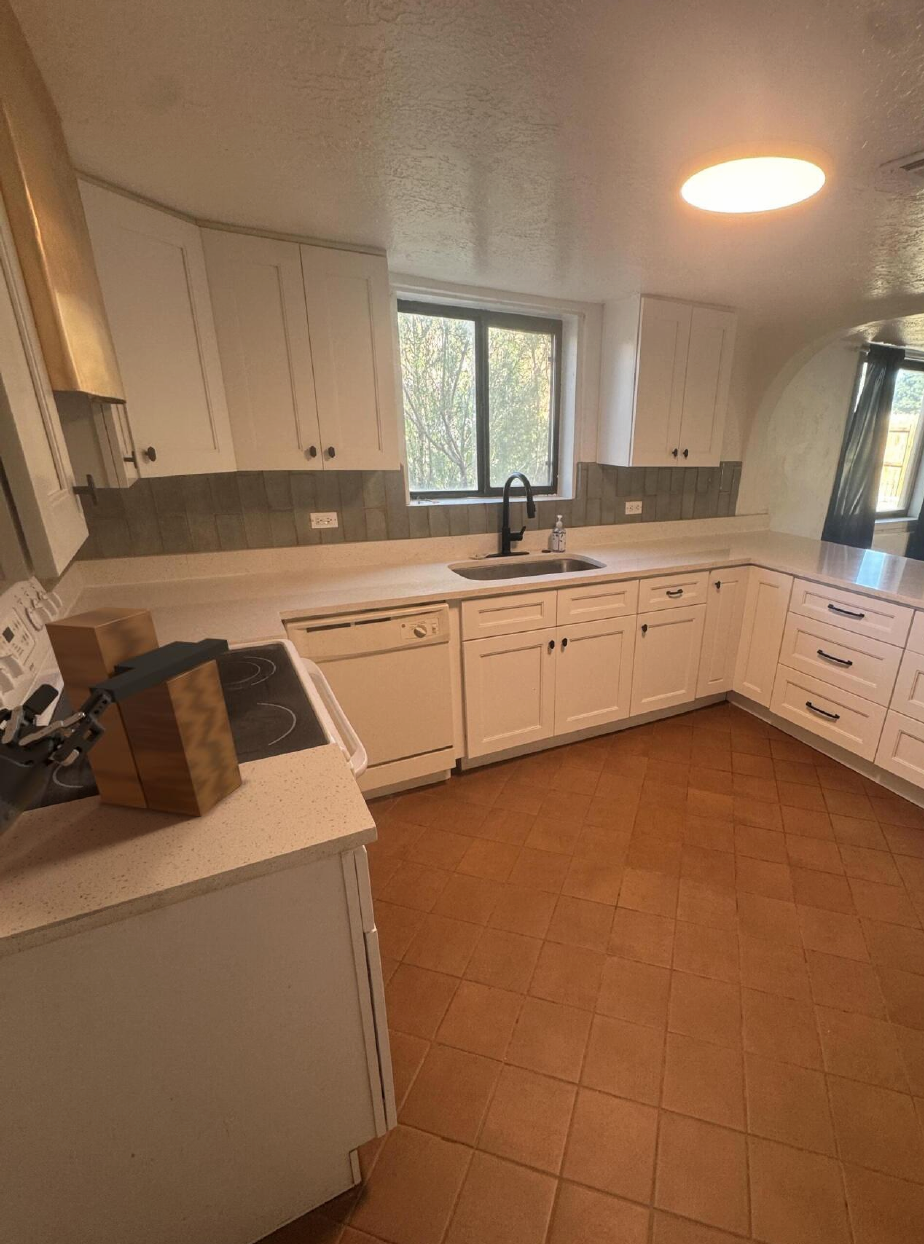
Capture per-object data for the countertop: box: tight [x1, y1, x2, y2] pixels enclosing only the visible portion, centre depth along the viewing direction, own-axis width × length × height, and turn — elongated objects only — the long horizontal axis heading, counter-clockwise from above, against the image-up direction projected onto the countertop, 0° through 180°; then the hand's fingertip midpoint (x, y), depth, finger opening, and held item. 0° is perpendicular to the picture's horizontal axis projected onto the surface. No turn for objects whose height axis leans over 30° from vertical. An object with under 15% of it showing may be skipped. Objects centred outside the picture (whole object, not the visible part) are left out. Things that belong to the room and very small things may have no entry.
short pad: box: [113, 640, 196, 676], centre depth 92 cm, size 12×4×2 cm, turn 169°
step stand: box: [44, 606, 243, 817], centre depth 95 cm, size 10×20×32 cm, turn 79°
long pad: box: [89, 637, 230, 703], centre depth 89 cm, size 22×4×2 cm, turn 168°
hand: (78, 690), depth 75 cm, fingers open, 8 cm apart
